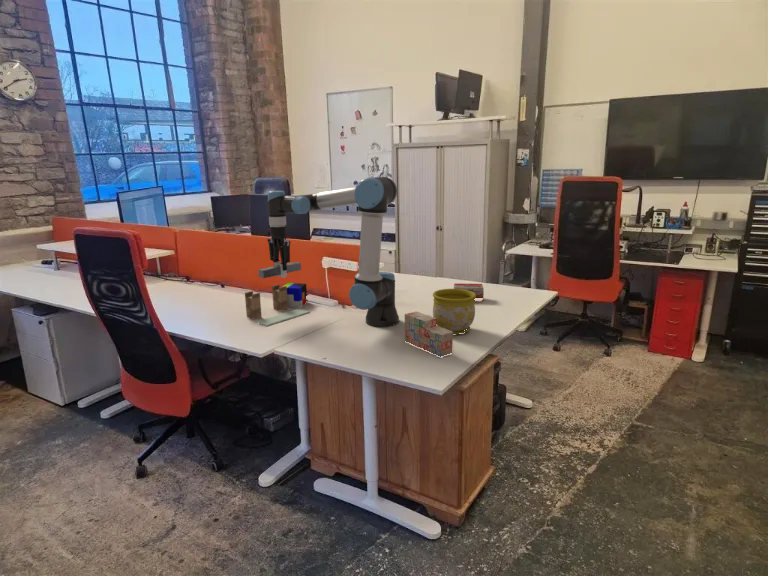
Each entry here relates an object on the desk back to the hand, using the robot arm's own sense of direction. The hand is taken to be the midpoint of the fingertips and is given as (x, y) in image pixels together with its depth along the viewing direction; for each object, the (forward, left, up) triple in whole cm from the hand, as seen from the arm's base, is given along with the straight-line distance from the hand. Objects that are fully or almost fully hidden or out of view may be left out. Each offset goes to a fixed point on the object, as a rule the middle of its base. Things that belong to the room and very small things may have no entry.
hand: (280, 276), depth 228 cm
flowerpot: (-73, -32, -20) cm, 82 cm away
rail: (0, 0, +1) cm, 1 cm away
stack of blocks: (-76, -8, -20) cm, 79 cm away
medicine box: (-54, -79, -20) cm, 98 cm away
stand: (+12, 0, -20) cm, 23 cm away
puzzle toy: (+13, -18, -20) cm, 30 cm away
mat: (0, 0, -20) cm, 20 cm away
